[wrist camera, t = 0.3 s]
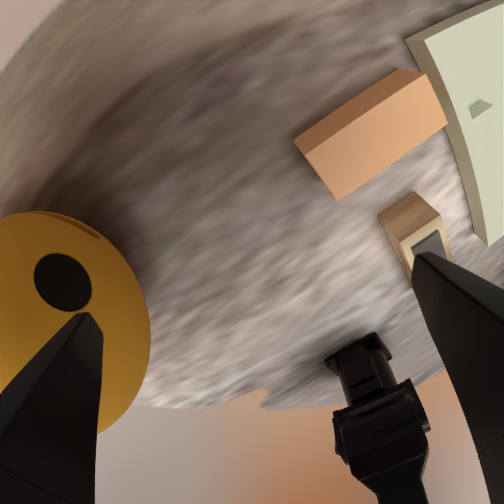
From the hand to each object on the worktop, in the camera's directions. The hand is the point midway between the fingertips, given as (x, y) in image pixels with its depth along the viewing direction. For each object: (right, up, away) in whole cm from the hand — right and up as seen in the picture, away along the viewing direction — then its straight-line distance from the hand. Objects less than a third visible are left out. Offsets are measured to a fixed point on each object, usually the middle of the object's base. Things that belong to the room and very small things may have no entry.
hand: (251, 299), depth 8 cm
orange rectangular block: (+7, +10, +11) cm, 16 cm away
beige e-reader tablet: (+14, +2, +17) cm, 22 cm away
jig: (+21, +12, +10) cm, 26 cm away
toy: (-14, +1, +15) cm, 21 cm away
